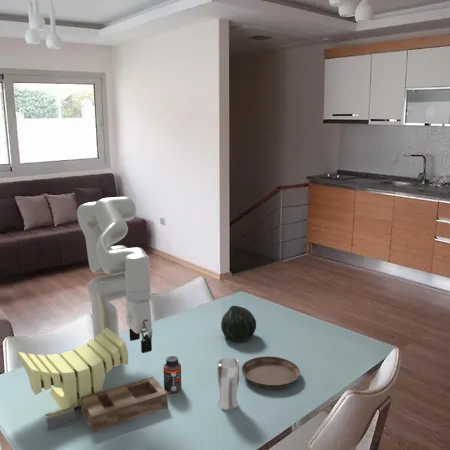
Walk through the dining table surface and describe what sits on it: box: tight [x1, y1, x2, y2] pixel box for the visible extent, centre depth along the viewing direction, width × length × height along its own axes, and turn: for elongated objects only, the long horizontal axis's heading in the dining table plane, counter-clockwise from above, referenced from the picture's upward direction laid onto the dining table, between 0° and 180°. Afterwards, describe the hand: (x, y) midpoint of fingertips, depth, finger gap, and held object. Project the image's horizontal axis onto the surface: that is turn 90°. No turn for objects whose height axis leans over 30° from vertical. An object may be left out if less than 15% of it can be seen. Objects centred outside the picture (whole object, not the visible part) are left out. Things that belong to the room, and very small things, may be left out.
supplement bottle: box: [163, 355, 182, 394], centre depth 163 cm, size 6×6×11 cm
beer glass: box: [216, 357, 240, 411], centre depth 153 cm, size 7×7×15 cm
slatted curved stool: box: [17, 328, 129, 410], centre depth 158 cm, size 30×16×18 cm, turn 128°
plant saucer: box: [240, 356, 301, 390], centre depth 172 cm, size 21×21×3 cm
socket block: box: [81, 376, 169, 433], centre depth 152 cm, size 12×24×5 cm, turn 121°
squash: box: [220, 305, 257, 342], centre depth 202 cm, size 14×15×15 cm
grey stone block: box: [44, 406, 77, 431], centre depth 145 cm, size 3×8×4 cm, turn 121°
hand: (140, 345), depth 151 cm, fingers open, 9 cm apart
